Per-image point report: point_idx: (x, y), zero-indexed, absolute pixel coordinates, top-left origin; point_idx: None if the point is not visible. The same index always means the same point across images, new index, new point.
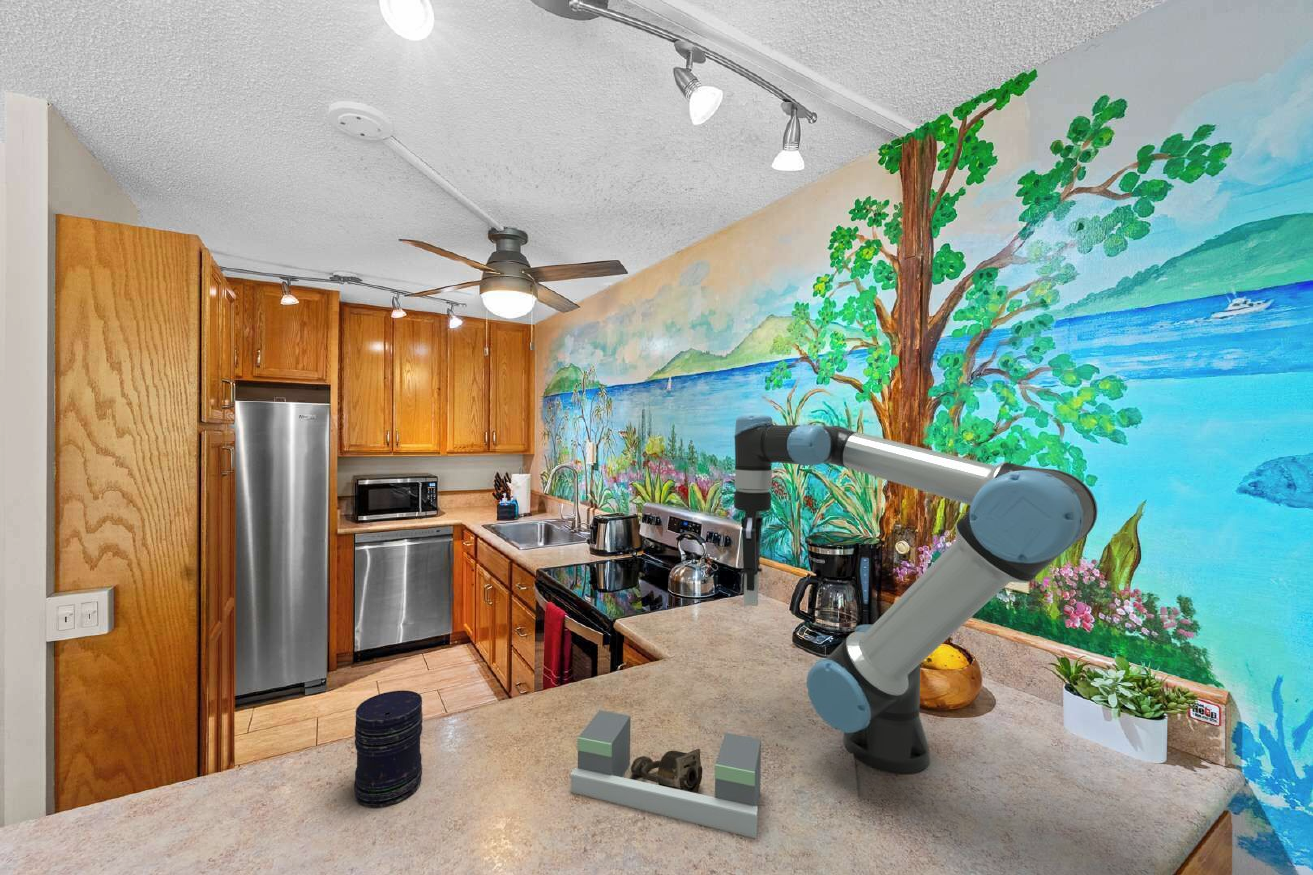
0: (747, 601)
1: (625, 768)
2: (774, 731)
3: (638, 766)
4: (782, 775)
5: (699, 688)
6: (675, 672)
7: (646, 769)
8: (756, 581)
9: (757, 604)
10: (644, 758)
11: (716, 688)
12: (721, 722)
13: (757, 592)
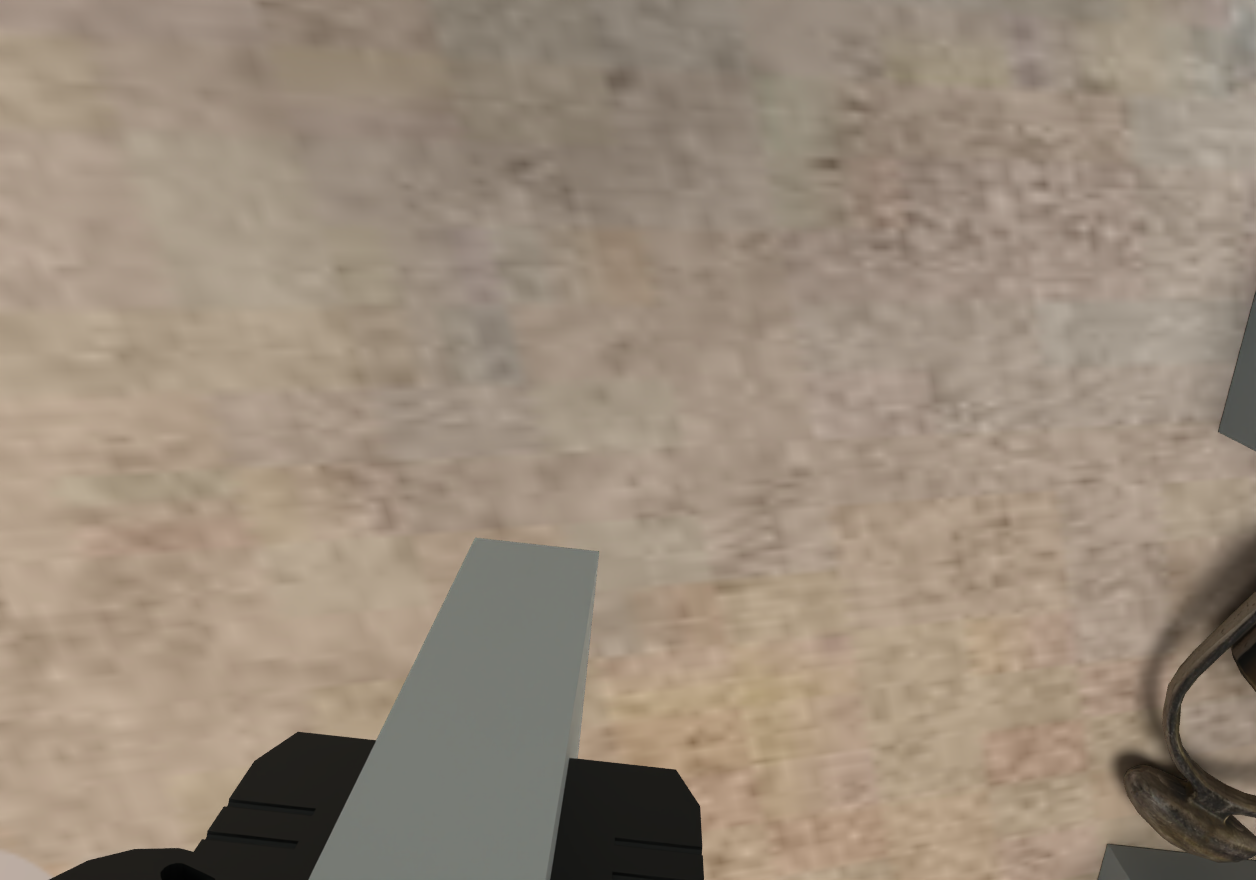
0: (579, 731)
1: (1175, 865)
2: (690, 174)
3: (1241, 832)
4: (1113, 142)
5: (300, 625)
6: (143, 776)
7: (1240, 793)
8: (547, 834)
9: (548, 550)
10: (1197, 822)
11: (268, 529)
12: (657, 477)
13: (560, 658)
